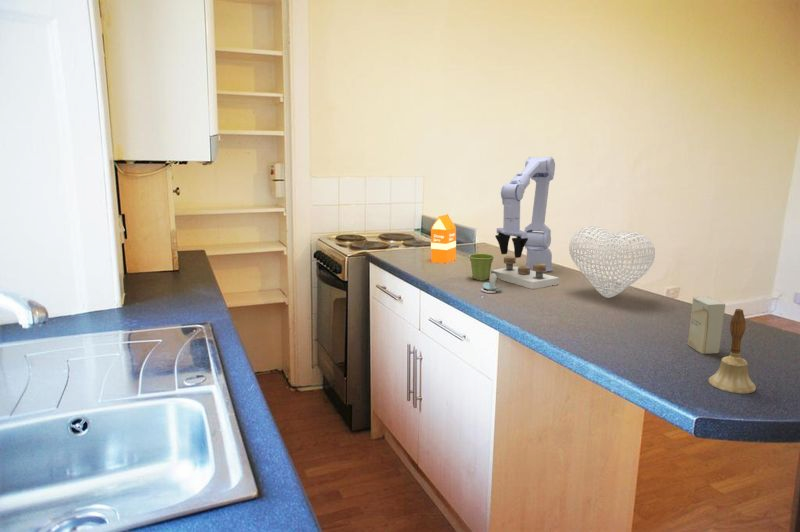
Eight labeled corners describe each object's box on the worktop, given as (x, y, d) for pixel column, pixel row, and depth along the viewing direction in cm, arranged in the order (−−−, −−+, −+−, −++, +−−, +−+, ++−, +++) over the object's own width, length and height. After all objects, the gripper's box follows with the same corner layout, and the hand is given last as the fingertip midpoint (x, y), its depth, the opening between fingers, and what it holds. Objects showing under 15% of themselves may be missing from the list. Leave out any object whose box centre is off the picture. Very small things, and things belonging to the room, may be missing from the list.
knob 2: (539, 275, 198) (539, 262, 197) (548, 277, 194) (548, 264, 193) (530, 276, 196) (530, 264, 195) (538, 279, 192) (539, 266, 191)
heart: (661, 303, 169) (667, 232, 165) (629, 311, 162) (634, 237, 157) (589, 285, 193) (592, 222, 188) (557, 291, 185) (560, 226, 181)
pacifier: (490, 295, 184) (504, 292, 187) (490, 277, 182) (504, 274, 185) (476, 291, 190) (490, 288, 193) (476, 273, 189) (490, 270, 191)
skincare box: (686, 345, 134) (691, 297, 132) (704, 344, 134) (709, 296, 132) (702, 354, 128) (707, 304, 125) (721, 353, 128) (726, 303, 126)
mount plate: (515, 272, 215) (515, 266, 214) (558, 284, 195) (558, 277, 195) (491, 276, 209) (491, 270, 209) (532, 289, 190) (533, 282, 189)
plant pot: (493, 275, 211) (493, 253, 209) (494, 281, 201) (495, 258, 200) (468, 275, 212) (468, 253, 210) (468, 281, 202) (469, 258, 201)
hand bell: (751, 397, 106) (760, 318, 103) (703, 386, 111) (711, 310, 108) (759, 383, 112) (768, 308, 109) (714, 373, 118) (721, 301, 114)
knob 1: (510, 267, 211) (510, 255, 210) (517, 269, 208) (518, 257, 207) (501, 268, 209) (501, 256, 208) (508, 270, 206) (509, 258, 205)
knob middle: (524, 277, 205) (524, 265, 204) (532, 280, 201) (532, 267, 200) (515, 279, 203) (515, 267, 202) (523, 281, 199) (523, 269, 198)
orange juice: (456, 260, 242) (456, 214, 237) (446, 263, 234) (446, 217, 230) (440, 258, 246) (440, 213, 242) (430, 262, 238) (430, 216, 234)
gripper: (490, 216, 199) (489, 253, 202) (516, 221, 186) (515, 260, 189) (505, 215, 202) (504, 251, 205) (532, 219, 190) (531, 258, 192)
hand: (510, 255), depth 197 cm, fingers open, 7 cm apart
